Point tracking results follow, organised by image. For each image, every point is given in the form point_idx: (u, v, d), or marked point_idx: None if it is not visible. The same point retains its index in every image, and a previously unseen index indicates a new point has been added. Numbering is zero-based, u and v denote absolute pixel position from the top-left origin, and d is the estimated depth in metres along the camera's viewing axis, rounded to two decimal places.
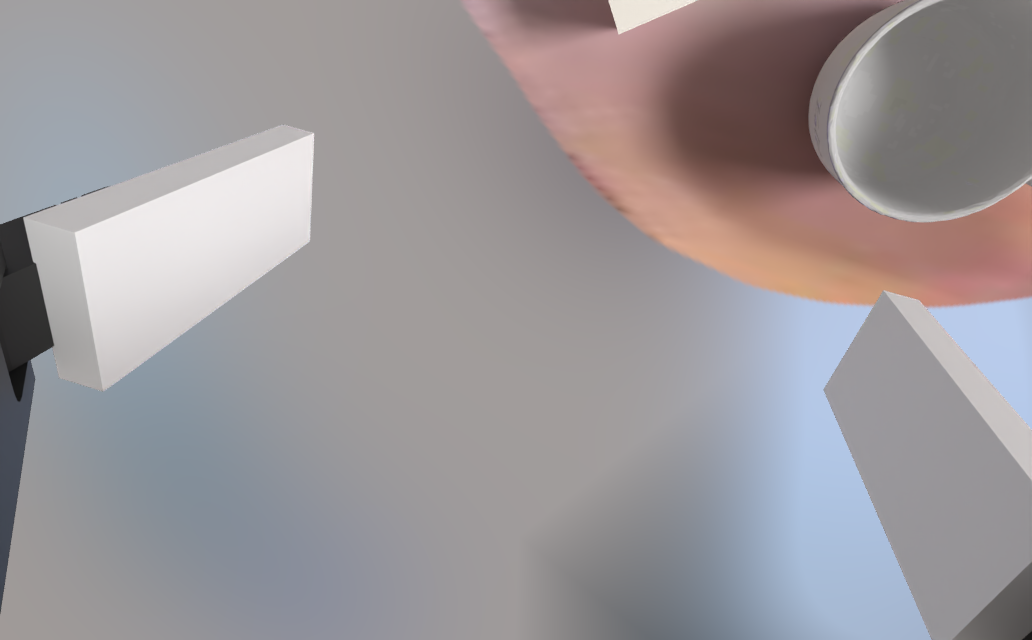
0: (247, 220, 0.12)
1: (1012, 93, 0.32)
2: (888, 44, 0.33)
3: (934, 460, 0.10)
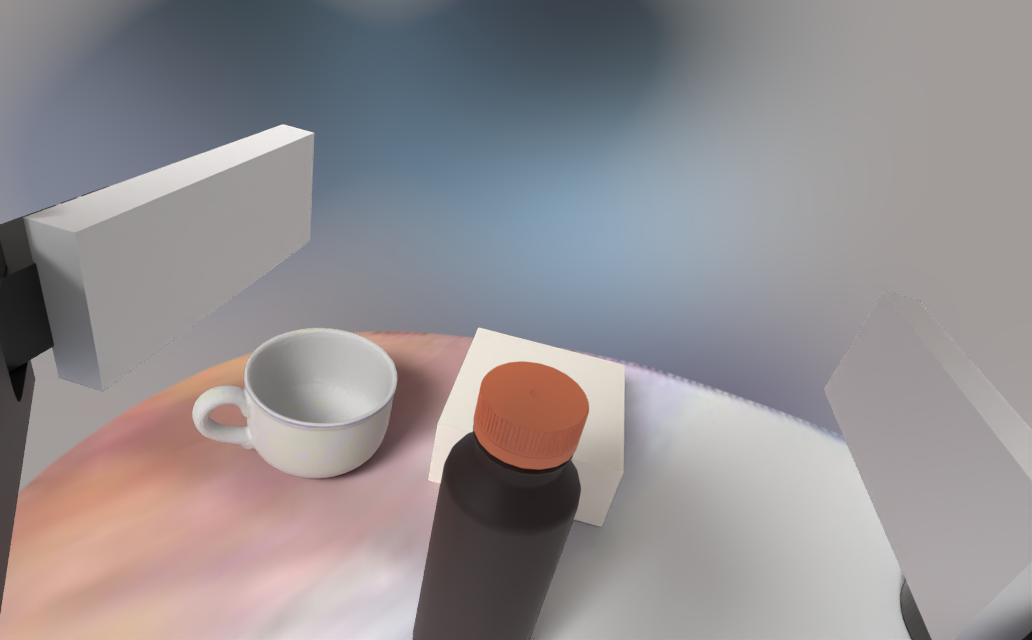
0: (247, 220, 0.12)
1: None
2: None
3: (934, 460, 0.10)
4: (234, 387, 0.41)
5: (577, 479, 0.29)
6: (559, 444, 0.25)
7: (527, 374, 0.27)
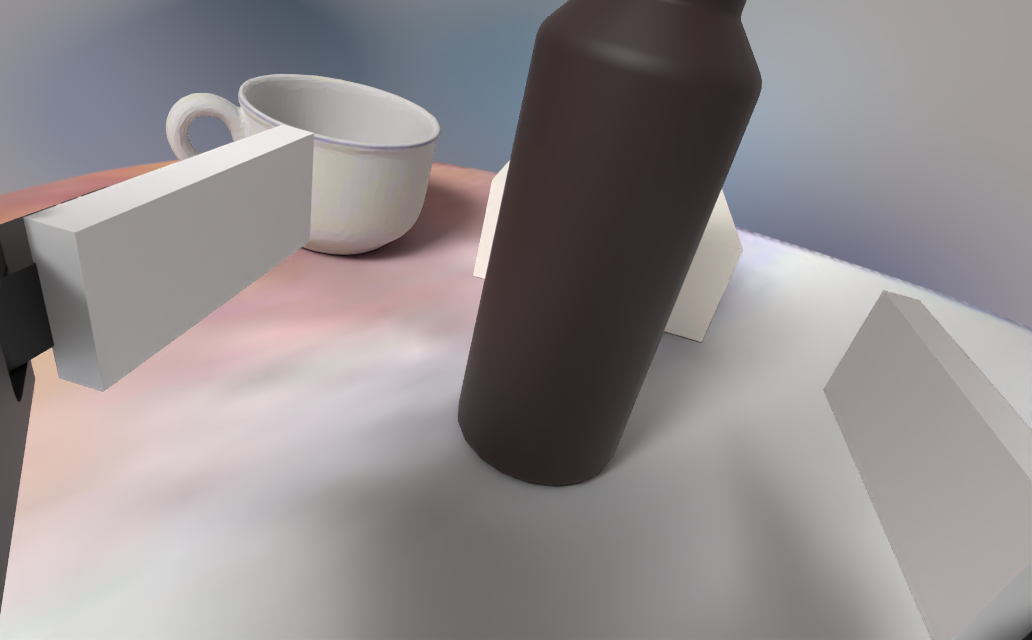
0: (247, 220, 0.12)
1: None
2: None
3: (934, 460, 0.10)
4: (224, 99, 0.30)
5: None
6: None
7: None
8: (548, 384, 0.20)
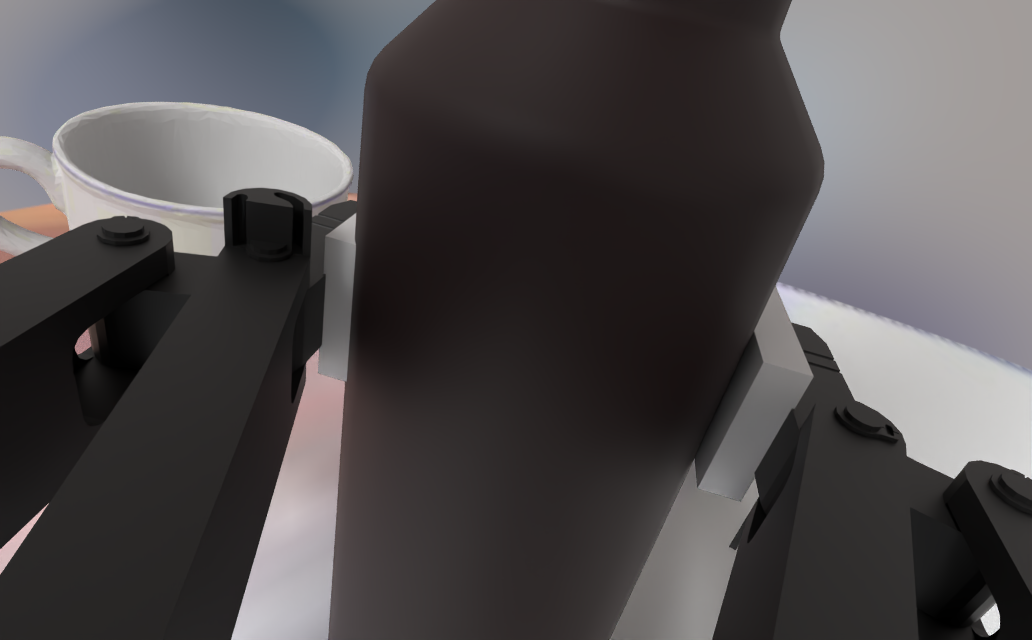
0: None
1: None
2: None
3: None
4: (31, 144, 0.21)
5: None
6: None
7: None
8: None
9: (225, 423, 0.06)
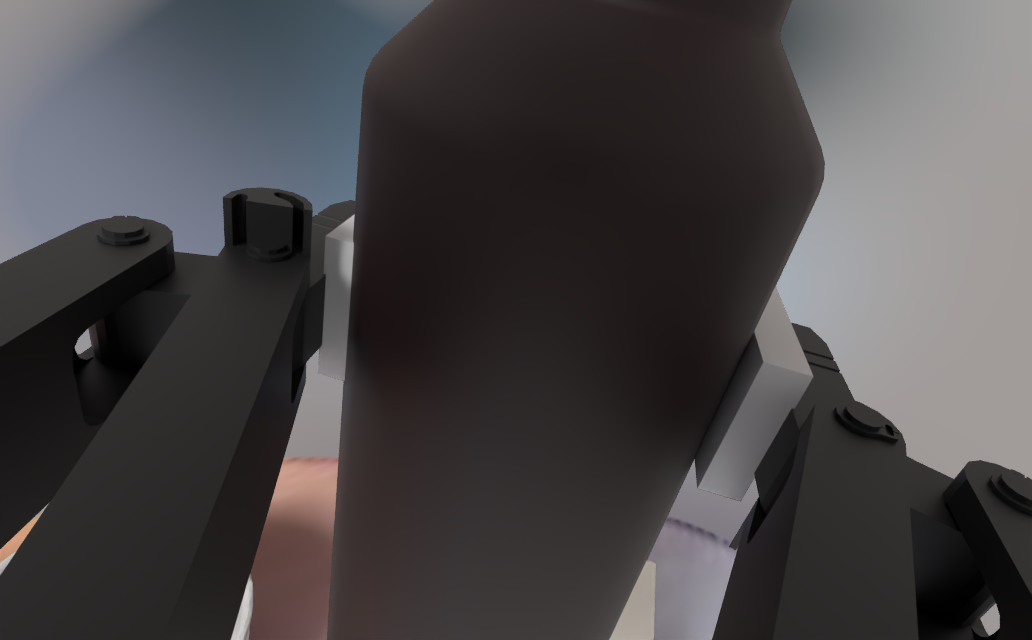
0: None
1: None
2: None
3: None
4: None
5: None
6: None
7: None
8: None
9: (223, 423, 0.06)
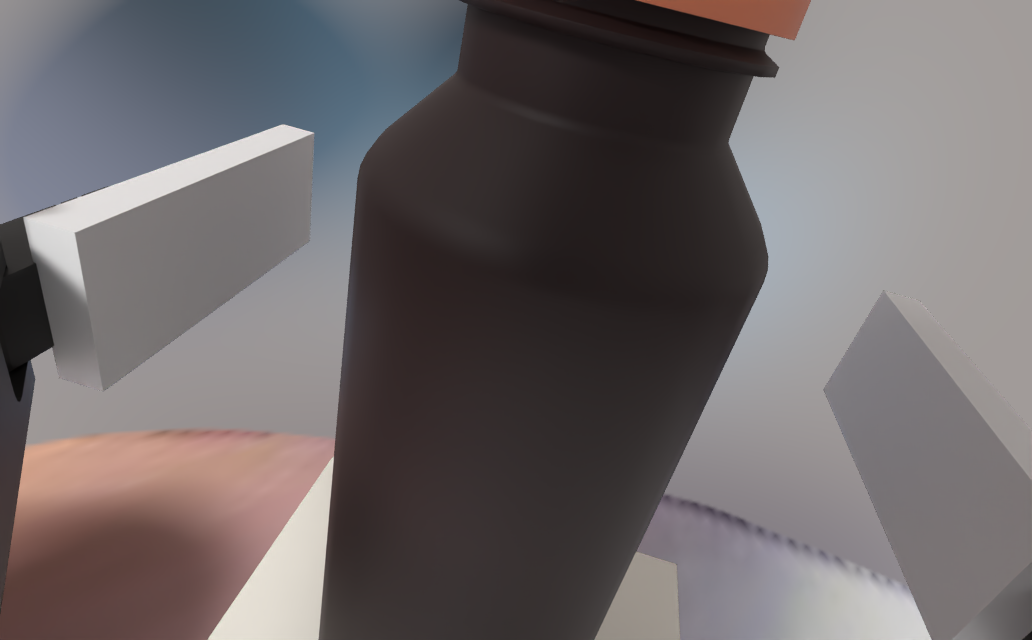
0: (247, 220, 0.12)
1: None
2: None
3: (934, 460, 0.10)
4: None
5: (755, 214, 0.10)
6: None
7: None
8: None
9: None
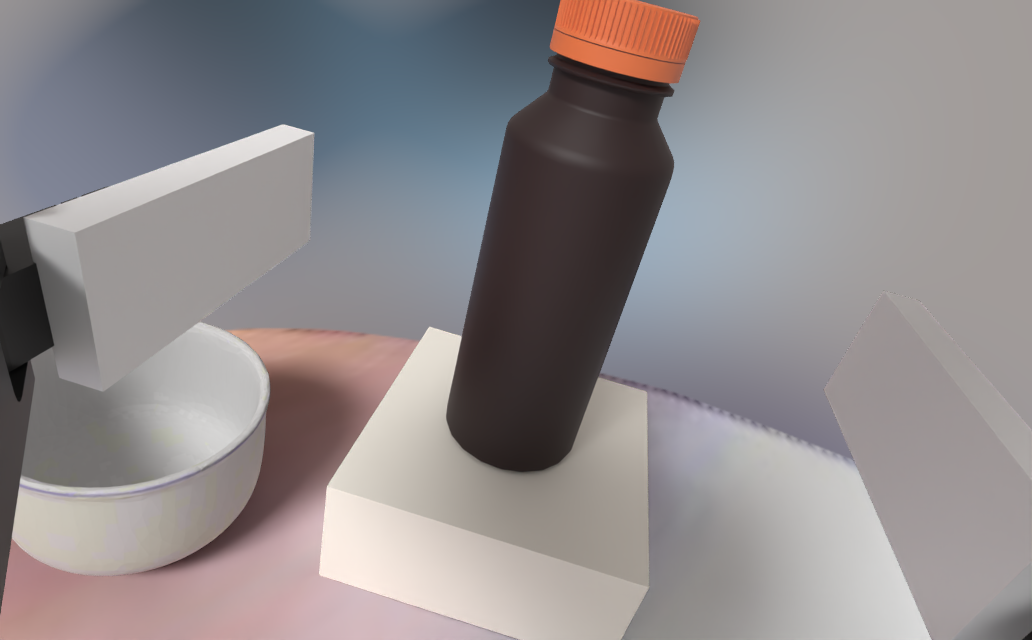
0: (247, 220, 0.12)
1: None
2: None
3: (934, 460, 0.10)
4: None
5: (670, 152, 0.23)
6: (666, 37, 0.19)
7: None
8: (514, 391, 0.26)
9: None
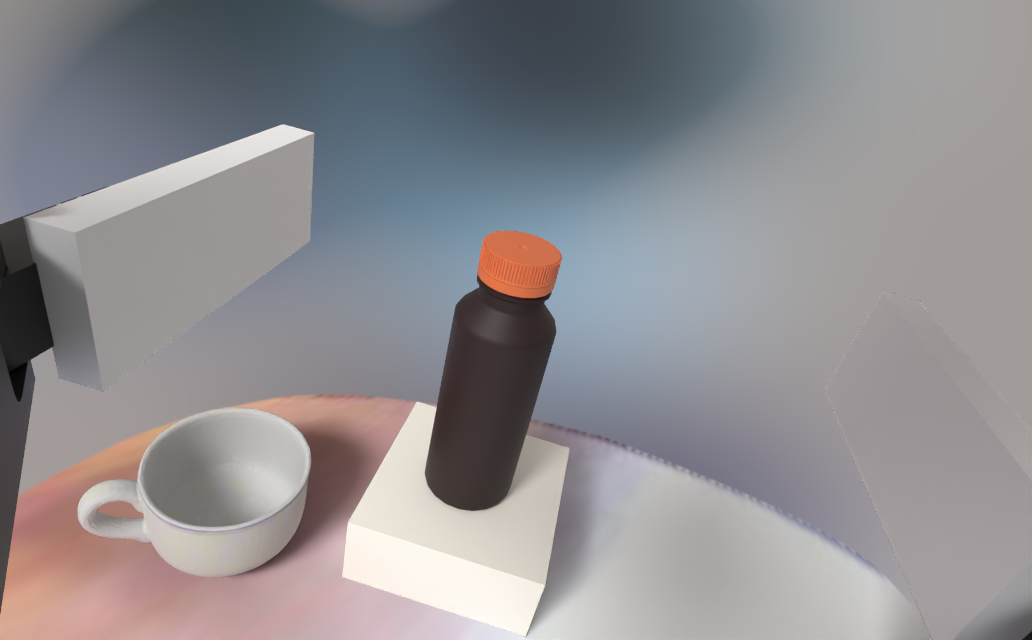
0: (247, 220, 0.12)
1: None
2: None
3: (934, 460, 0.10)
4: (125, 481, 0.38)
5: (553, 323, 0.39)
6: (537, 278, 0.35)
7: (518, 237, 0.37)
8: (463, 463, 0.41)
9: None
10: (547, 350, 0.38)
